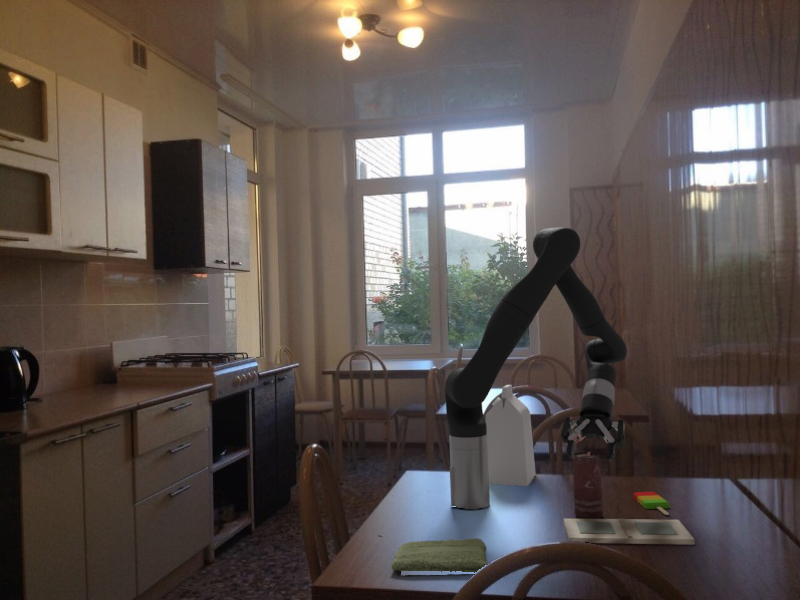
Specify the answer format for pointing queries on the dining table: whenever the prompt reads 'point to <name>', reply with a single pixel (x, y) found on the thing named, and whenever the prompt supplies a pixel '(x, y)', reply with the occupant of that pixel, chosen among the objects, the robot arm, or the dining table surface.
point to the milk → (509, 441)
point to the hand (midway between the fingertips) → (589, 458)
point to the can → (587, 485)
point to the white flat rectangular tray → (628, 531)
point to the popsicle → (652, 501)
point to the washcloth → (441, 556)
